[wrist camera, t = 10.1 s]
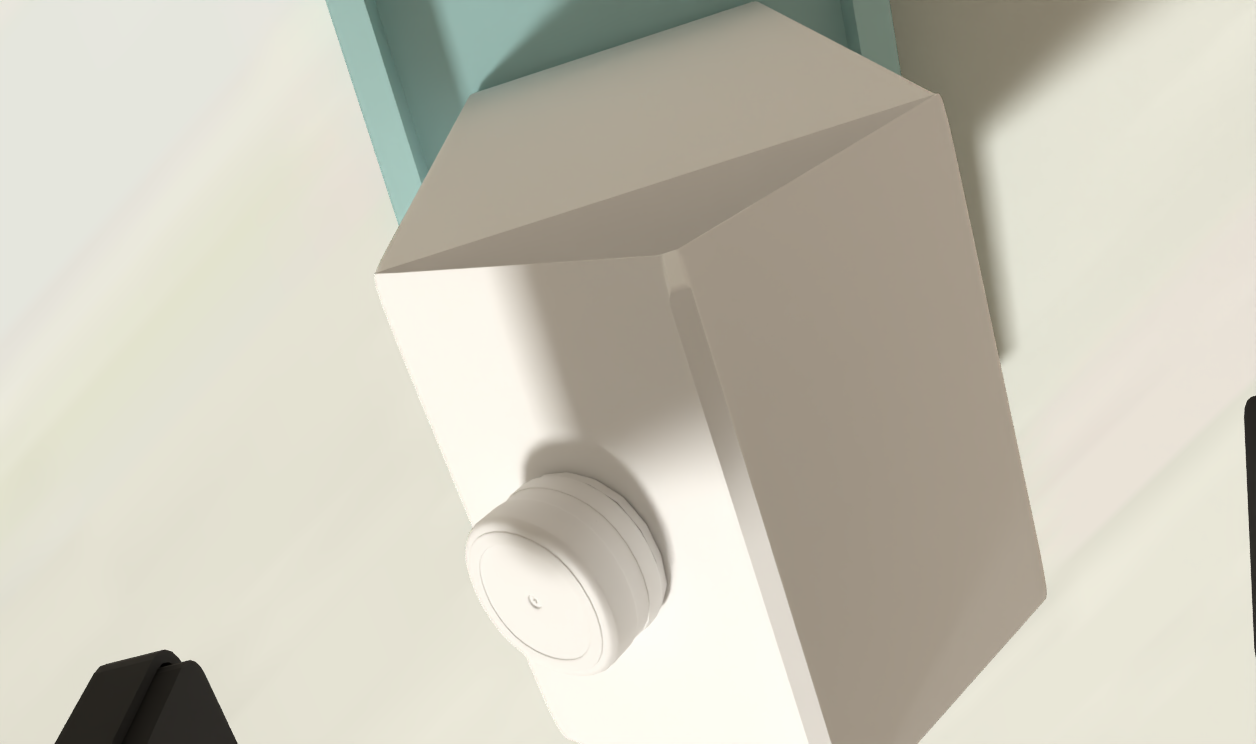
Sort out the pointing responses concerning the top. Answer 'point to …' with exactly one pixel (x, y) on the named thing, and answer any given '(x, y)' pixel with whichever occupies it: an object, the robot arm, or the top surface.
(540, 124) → the milk carton
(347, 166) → the top surface
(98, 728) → the robot arm
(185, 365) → the top surface
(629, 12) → the tray
